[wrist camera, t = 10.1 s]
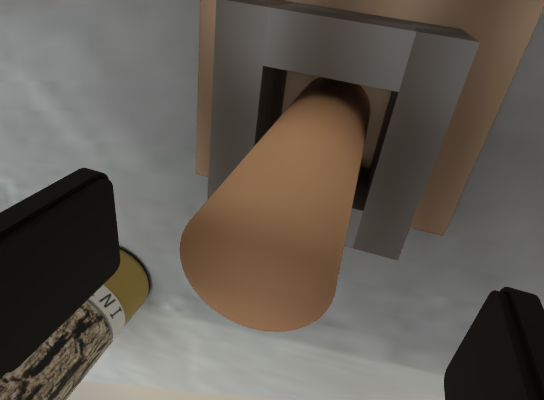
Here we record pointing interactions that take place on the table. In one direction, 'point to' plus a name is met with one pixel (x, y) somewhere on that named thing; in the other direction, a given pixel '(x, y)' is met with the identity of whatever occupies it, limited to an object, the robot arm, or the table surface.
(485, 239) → the table surface
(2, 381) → the paper tube
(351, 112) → the peg
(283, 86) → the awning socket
